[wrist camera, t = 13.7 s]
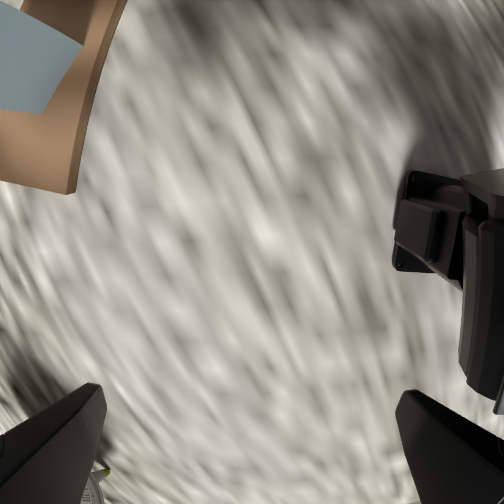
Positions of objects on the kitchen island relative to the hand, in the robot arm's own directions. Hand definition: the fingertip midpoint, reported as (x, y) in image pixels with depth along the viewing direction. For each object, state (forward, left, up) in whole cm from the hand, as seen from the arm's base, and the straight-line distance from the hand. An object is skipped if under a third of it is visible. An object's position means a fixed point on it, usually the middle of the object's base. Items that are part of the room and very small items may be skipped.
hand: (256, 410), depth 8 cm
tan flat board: (+15, -13, -12) cm, 23 cm away
